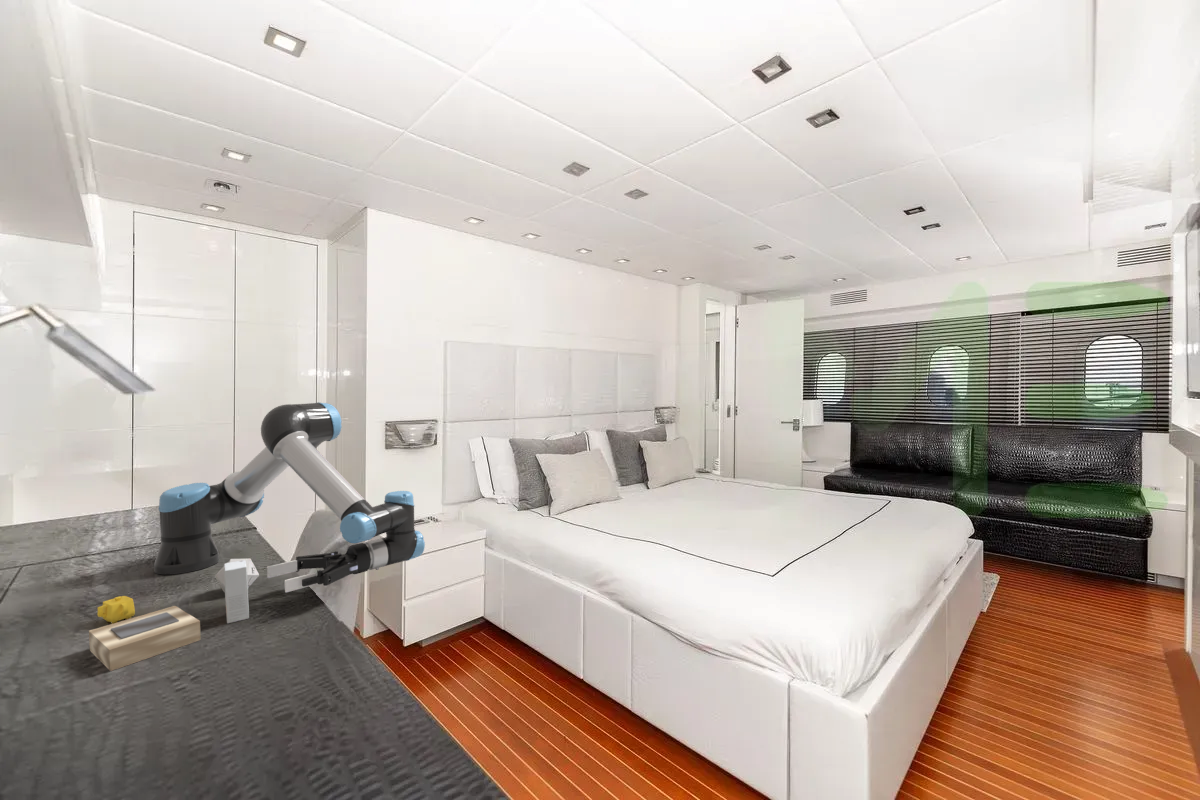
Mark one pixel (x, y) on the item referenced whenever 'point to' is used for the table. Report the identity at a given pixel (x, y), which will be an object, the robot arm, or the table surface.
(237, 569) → the skincare box
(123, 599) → the teapot
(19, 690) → the table surface
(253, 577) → the die
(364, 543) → the robot arm
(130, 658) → the plinth
